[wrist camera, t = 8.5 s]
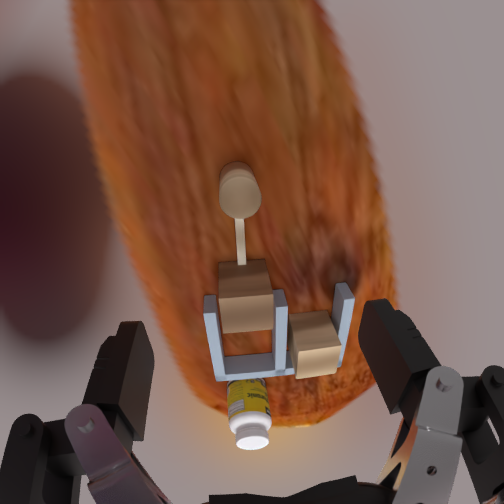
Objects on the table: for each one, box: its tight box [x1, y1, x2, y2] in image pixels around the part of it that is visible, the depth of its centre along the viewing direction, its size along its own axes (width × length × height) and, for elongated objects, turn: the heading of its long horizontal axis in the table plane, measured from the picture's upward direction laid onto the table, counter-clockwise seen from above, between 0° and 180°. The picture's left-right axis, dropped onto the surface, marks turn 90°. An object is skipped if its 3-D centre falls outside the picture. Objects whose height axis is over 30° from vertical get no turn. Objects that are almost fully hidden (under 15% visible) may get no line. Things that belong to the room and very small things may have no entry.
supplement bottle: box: [227, 378, 272, 450], centre depth 37 cm, size 5×5×10 cm
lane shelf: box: [203, 283, 355, 381], centre depth 35 cm, size 11×16×3 cm
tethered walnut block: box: [219, 161, 273, 333], centre depth 27 cm, size 14×5×6 cm, turn 2°
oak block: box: [287, 310, 342, 379], centre depth 34 cm, size 5×5×6 cm
